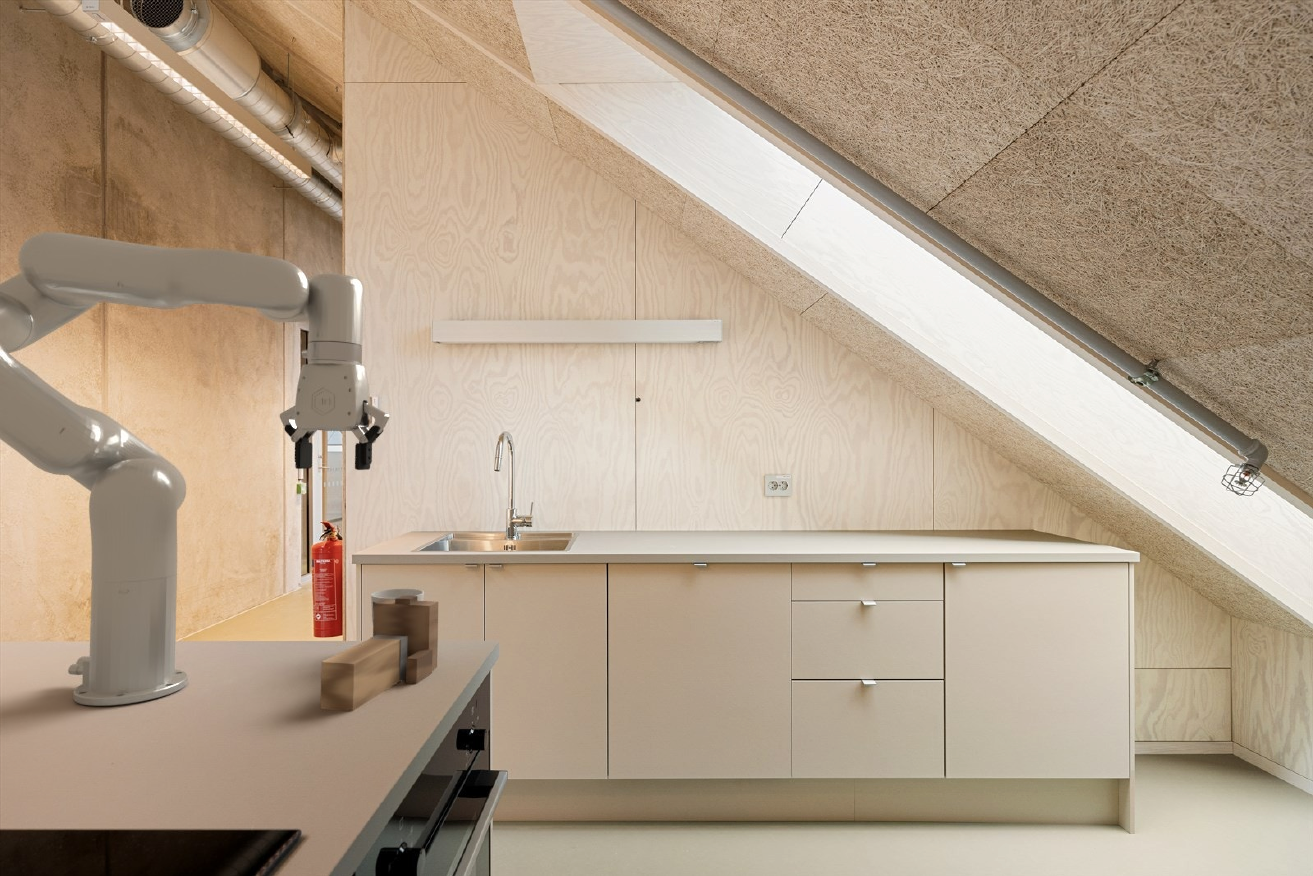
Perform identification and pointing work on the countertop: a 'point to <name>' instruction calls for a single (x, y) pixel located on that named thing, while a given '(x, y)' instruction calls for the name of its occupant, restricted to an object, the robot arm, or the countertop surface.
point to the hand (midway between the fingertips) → (333, 469)
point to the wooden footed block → (411, 631)
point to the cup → (395, 595)
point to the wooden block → (363, 672)
